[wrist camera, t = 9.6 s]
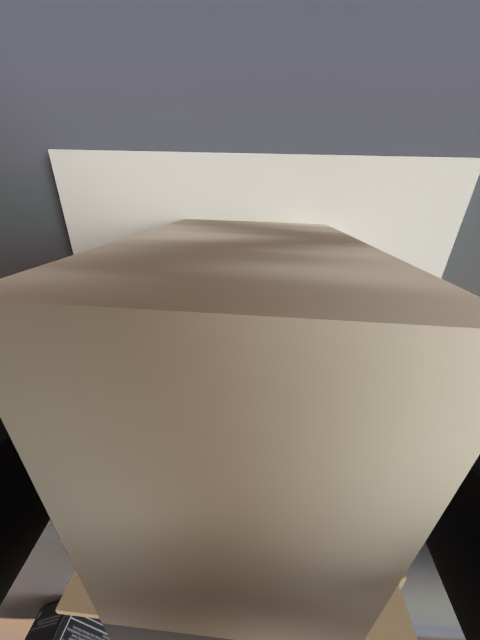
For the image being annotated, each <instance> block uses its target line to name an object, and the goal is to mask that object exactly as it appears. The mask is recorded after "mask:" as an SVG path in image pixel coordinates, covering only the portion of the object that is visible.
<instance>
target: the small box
mask: <svg viewBox="0 0 480 640" xmlns="http://www.w3.org/2000/svg"><path fill="white" fill-rule="evenodd" d="M58 603H59V602H56V603H52V604H49V605H46V606H44V607H42V608H41V609H40V611H39V613H38V615H37V617H36V619H35V621H34V623H33V625H32V627H31V629H30V631H29V633H28V635H27V636H26V638H25V640H110V639H109V637H108V635H107V633H106V630H105V628H104V626H103V624H102V622H101V620H100V619H97V618H89V617H80V616H72V615H64V614H57V612H56V610H55V609H56V607H57V605H58Z"/></svg>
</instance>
